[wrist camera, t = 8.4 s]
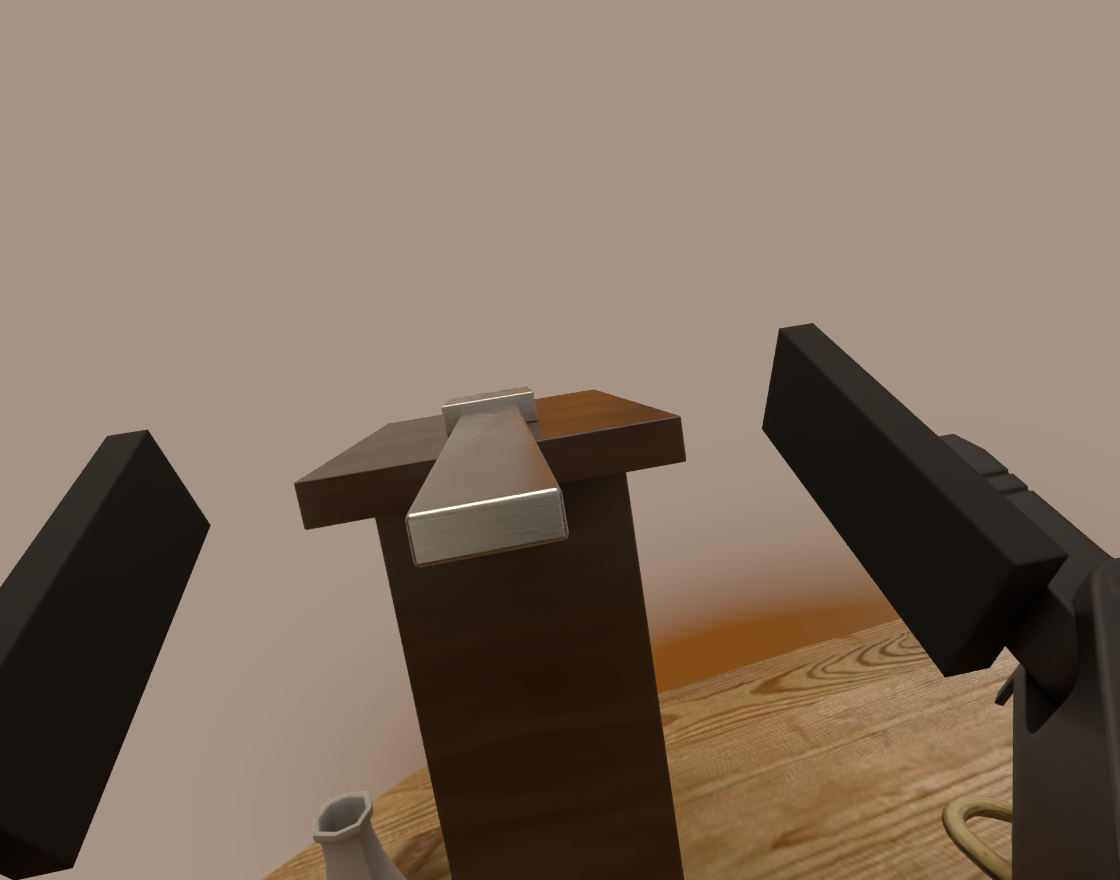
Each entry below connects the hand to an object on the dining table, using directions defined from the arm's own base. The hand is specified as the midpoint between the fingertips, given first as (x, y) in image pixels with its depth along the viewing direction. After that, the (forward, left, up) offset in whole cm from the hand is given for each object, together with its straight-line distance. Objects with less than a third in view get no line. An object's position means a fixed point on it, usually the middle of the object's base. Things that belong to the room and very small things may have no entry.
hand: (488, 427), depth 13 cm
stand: (-2, +13, -31) cm, 34 cm away
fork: (-1, +7, -1) cm, 7 cm away
